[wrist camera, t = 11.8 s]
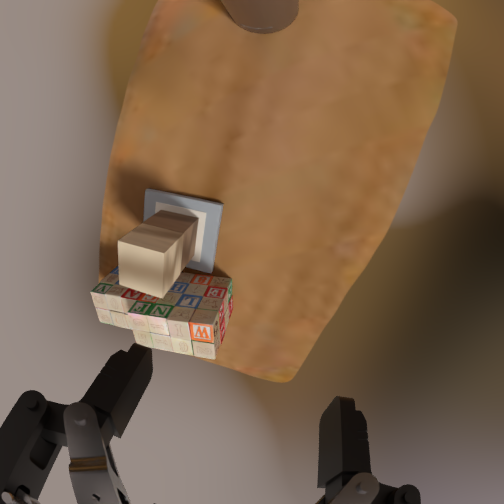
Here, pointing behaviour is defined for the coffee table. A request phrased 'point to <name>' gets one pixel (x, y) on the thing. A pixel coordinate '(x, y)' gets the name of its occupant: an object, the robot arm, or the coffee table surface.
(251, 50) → the coffee table surface
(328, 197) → the coffee table surface
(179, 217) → the walnut block
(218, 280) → the stack of blocks
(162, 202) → the build board
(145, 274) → the maple block
